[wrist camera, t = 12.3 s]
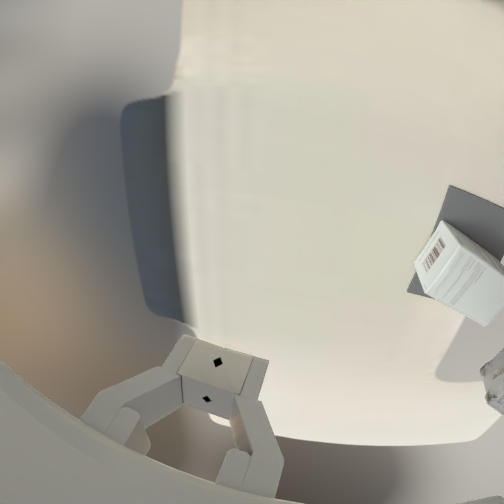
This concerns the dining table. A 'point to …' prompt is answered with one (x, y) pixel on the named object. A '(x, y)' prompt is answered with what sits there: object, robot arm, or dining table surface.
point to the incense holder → (494, 382)
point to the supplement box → (461, 274)
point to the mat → (470, 225)
